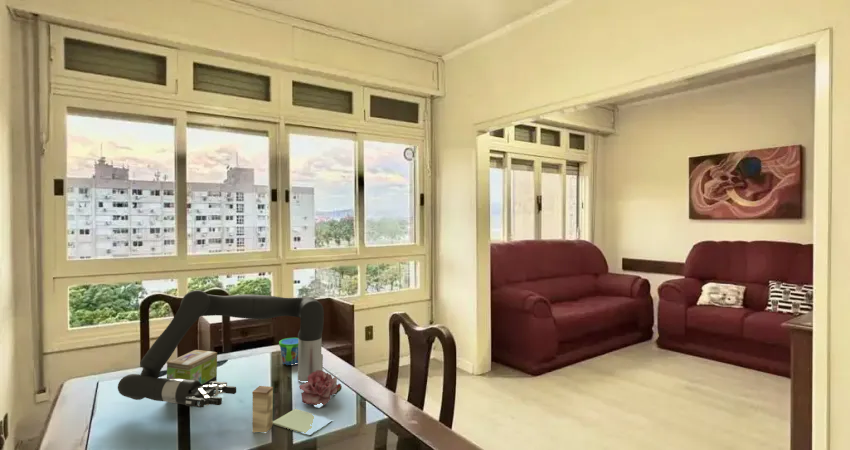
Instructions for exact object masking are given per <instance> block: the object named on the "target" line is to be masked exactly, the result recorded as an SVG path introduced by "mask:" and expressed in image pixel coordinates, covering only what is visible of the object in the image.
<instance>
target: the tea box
mask: <svg viewBox="0 0 850 450" xmlns="http://www.w3.org/2000/svg"><path fill="white" fill-rule="evenodd" d="M166 364H167V365H166V378H167V379H187V380H197V381H199V382H200V383H201V385H202V386H204V385H209V384H210V382H211V381H214V382H218V381H217V380H218V379H217V377H218V376H217V374H218V351H217V352H216V351H210V350H209V351H208V350H201V349H194V350H192V351H189V352H187V353H185V354H183V355H181V356H178V357H175V358H173V359H171V360H168V361H167V362H166ZM184 405H185V406H186V404H184Z"/></svg>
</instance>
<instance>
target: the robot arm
mask: <svg viewBox="0 0 850 450" xmlns="http://www.w3.org/2000/svg"><path fill="white" fill-rule="evenodd" d="M180 301H181V302H180V306H179V308H178V310H177V311H176V312H175V314H174V317H173V318H172V319H171V321H170V323H169V324H168V325H167V326H166V328H165V329H164V330H163V331H162V332H161V334H160V335H159V336H158V337H157V338H156V340H155V341H154V342H153V344H152V345H151V346H150V347H149V349H148V350H147V351H146V353H145V354H144V355H143V357H142V359H141V360H140V364H139V365H140V366H141V368H142V370H141V372H140V373H130V374H127V375H125V376H124V377H122V378H121V379H120V380H119V382H118V384H117V391H118V393H119V394H120V395H121V396H123V397H125V398H128V399H132V400H136V401H140V400H144V399H149V400H152V401H157V402H167V403H169V404H177V405H179V404H180V405H185V404H186V405H185V406H186V407H192V408H199V409H202V408H204V407H205V406H209V405H211V406H220V405H221V406H222V404H223V398H222V397H220V396H219V395H220V394H228V395H229V394H231V395H235V394H236V393H237V387H236V386H231V385H228V382H226V381H217V382H214V381H211V382H210V384H209V385H204V386H202V385H201V383H200V382H199V381H197V380H187V379H167V377H166V378H165V377H160V372H161V371H162V369H163V367H164V366H165V365H166V364H167V362H169V360H170V358H171V357H172V355H173V353H174V352H175V351H176V349H177V347H178V345H179V344H180V342H181V341H182V340H183V338H184V336H185V335H186V334H187V333H188V331H189V330H190V328H191V327H192V326H193V325H194V323H196V321H198V320H199V318H200V317H209V316H211V317H212V316H221V317H229V318H237V319H238V318H239V319H247V320H269V319H272V318H277V317H294V318H300V322H299V323H300V324H299V325H300V327H299V328H300V329H299V331H298V333H297V338H298V364H297V381H298V380H300V381H308V376H309V375H310V374H311V373H312V372H315V371H316V370H322V371H324V369H323V368H324V365H323V364H324V360H323V359H324V358H323V357H324V355H323V354H322V344H323V343H322V340H323V339H322V338H323V335H322V334H323V331H324V319H325V318H324V315H325V312H324V311H325V310H324V306H323V304H322V303H321V302H320V301H318V300H317V299H316V298H314V297H310V296H305V297H303V296H302V297H282V296H274V295H263V294H250V293H248V294H234V295H233V294H232V295H215V294H208V293H206V292H205V291H203V290H200V289H195V290H191V291H189V292H186V293H185V295H183V297H182V298H181V300H180Z"/></svg>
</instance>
